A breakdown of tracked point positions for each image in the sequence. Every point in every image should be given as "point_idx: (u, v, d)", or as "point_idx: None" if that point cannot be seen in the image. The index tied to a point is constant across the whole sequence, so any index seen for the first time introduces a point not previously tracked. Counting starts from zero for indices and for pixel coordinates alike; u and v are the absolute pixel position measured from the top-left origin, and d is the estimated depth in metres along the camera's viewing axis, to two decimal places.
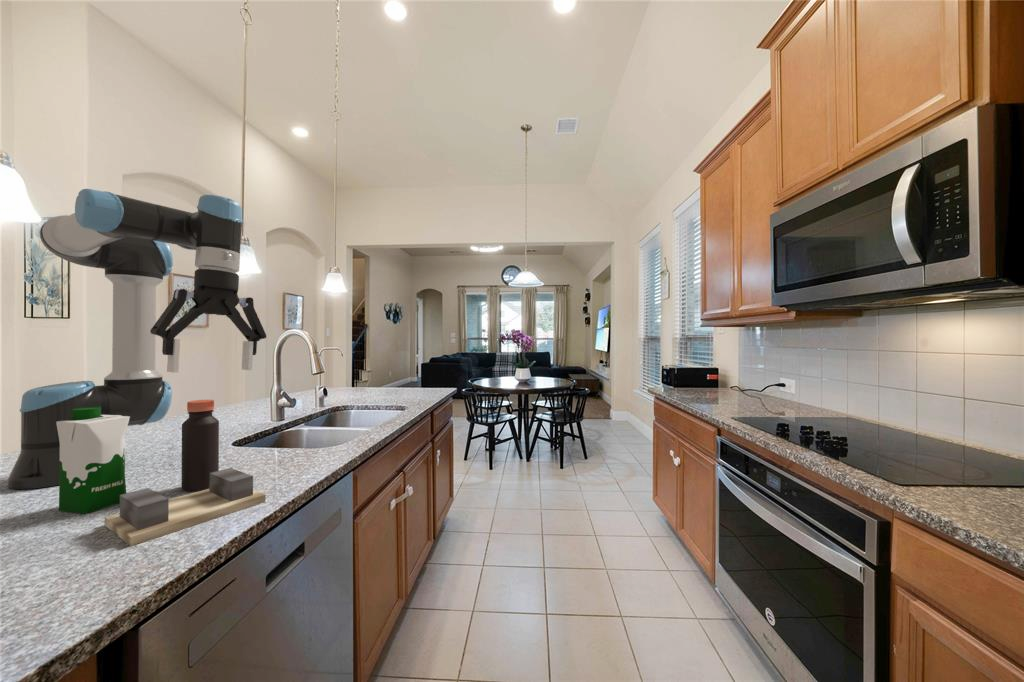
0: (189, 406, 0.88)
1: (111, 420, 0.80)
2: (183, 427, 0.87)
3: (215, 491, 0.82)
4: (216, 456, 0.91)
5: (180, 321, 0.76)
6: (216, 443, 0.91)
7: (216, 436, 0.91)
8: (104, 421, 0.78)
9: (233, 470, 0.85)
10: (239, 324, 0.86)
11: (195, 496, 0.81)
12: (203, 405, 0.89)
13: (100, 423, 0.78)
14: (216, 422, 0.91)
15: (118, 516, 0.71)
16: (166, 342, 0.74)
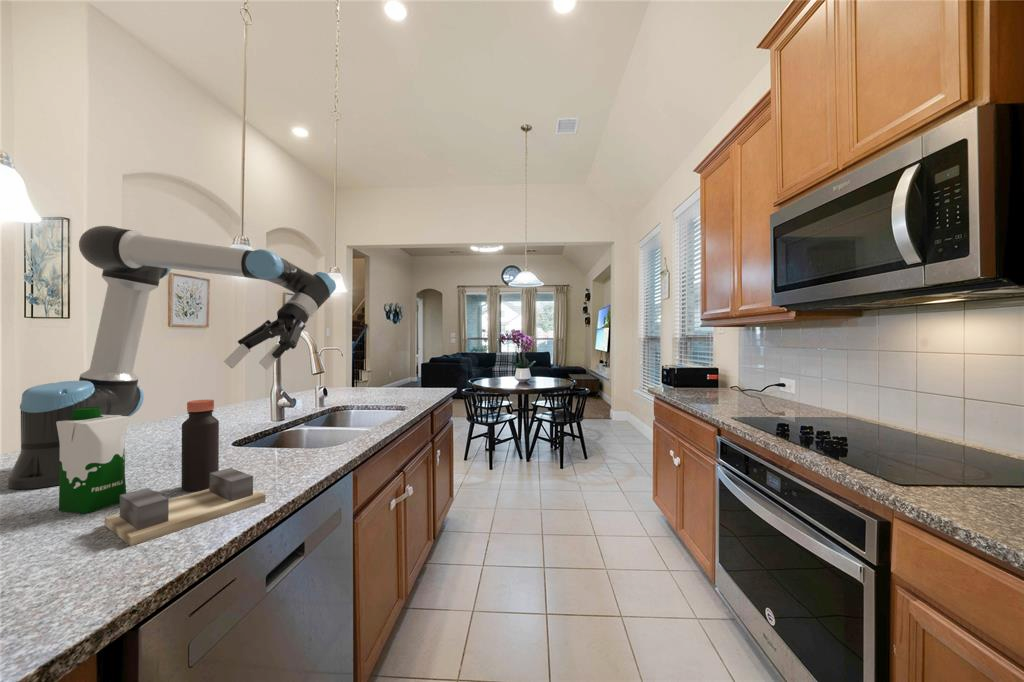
0: (189, 406, 0.88)
1: (111, 420, 0.80)
2: (183, 427, 0.87)
3: (215, 491, 0.82)
4: (216, 456, 0.91)
5: None
6: (216, 443, 0.91)
7: (216, 436, 0.91)
8: (104, 421, 0.78)
9: (233, 470, 0.85)
10: (263, 339, 1.09)
11: (195, 496, 0.81)
12: (202, 405, 0.89)
13: (99, 423, 0.78)
14: (216, 422, 0.91)
15: (118, 516, 0.71)
16: (284, 351, 1.01)
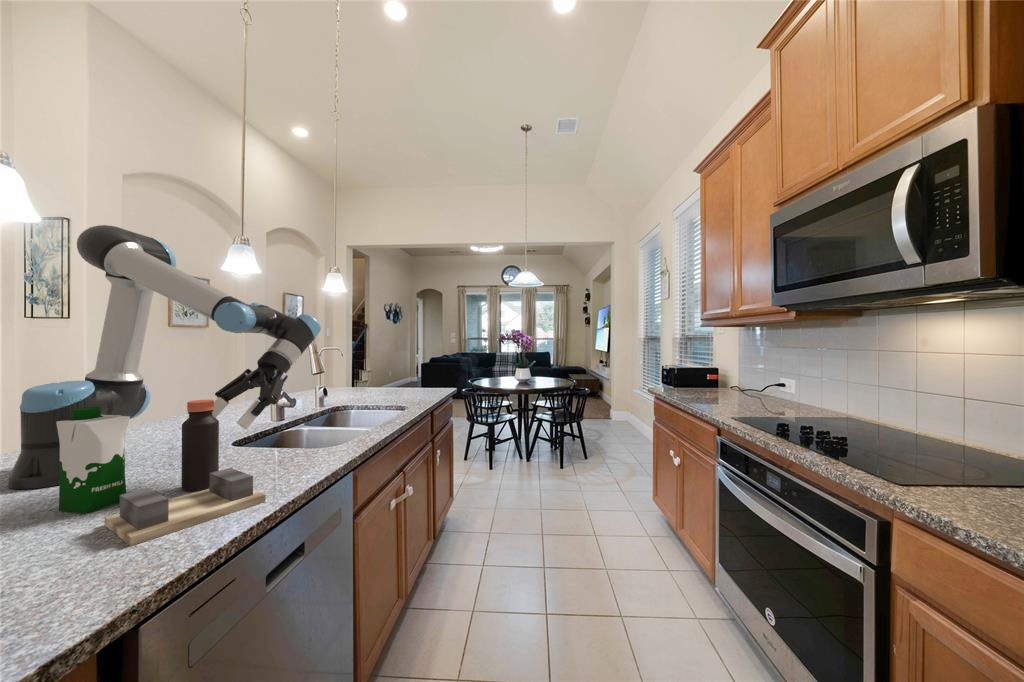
0: (189, 406, 0.88)
1: (111, 420, 0.80)
2: (183, 427, 0.87)
3: (215, 491, 0.82)
4: (216, 456, 0.91)
5: None
6: (216, 443, 0.91)
7: (216, 436, 0.91)
8: (104, 421, 0.78)
9: (233, 470, 0.85)
10: (242, 391, 1.03)
11: (195, 496, 0.81)
12: (203, 405, 0.89)
13: (100, 423, 0.78)
14: (216, 422, 0.91)
15: (118, 516, 0.71)
16: (264, 407, 0.95)
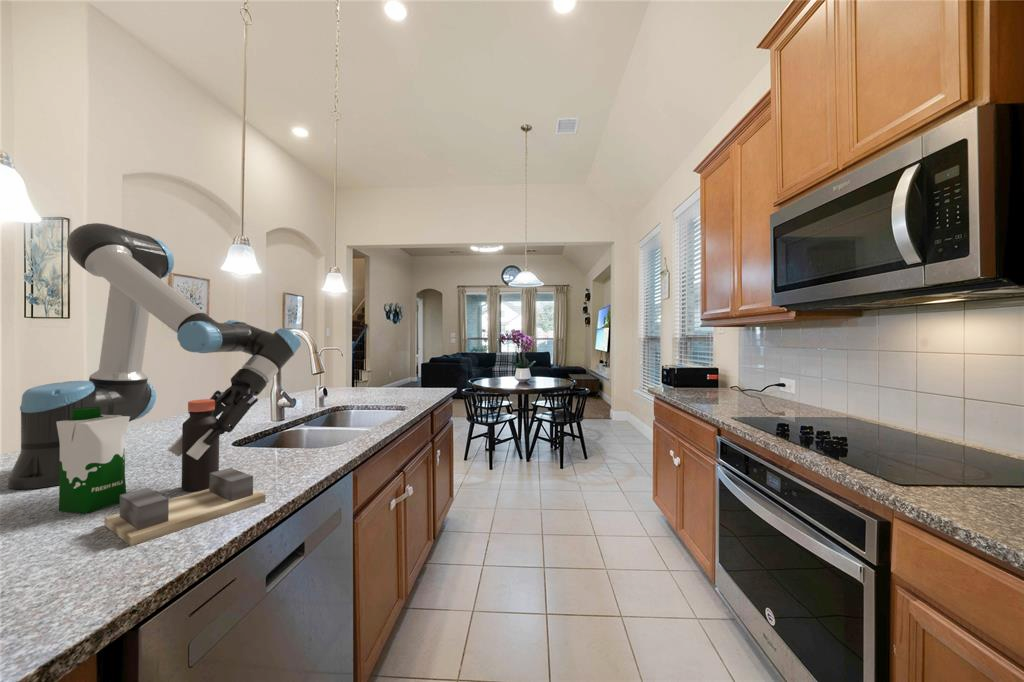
0: (190, 405, 0.88)
1: (111, 420, 0.80)
2: (184, 427, 0.87)
3: (215, 491, 0.82)
4: (216, 456, 0.91)
5: None
6: (216, 443, 0.91)
7: None
8: (104, 421, 0.78)
9: (233, 470, 0.85)
10: (216, 414, 0.96)
11: (195, 496, 0.81)
12: (203, 405, 0.89)
13: (100, 423, 0.78)
14: None
15: (118, 516, 0.71)
16: (218, 436, 0.89)
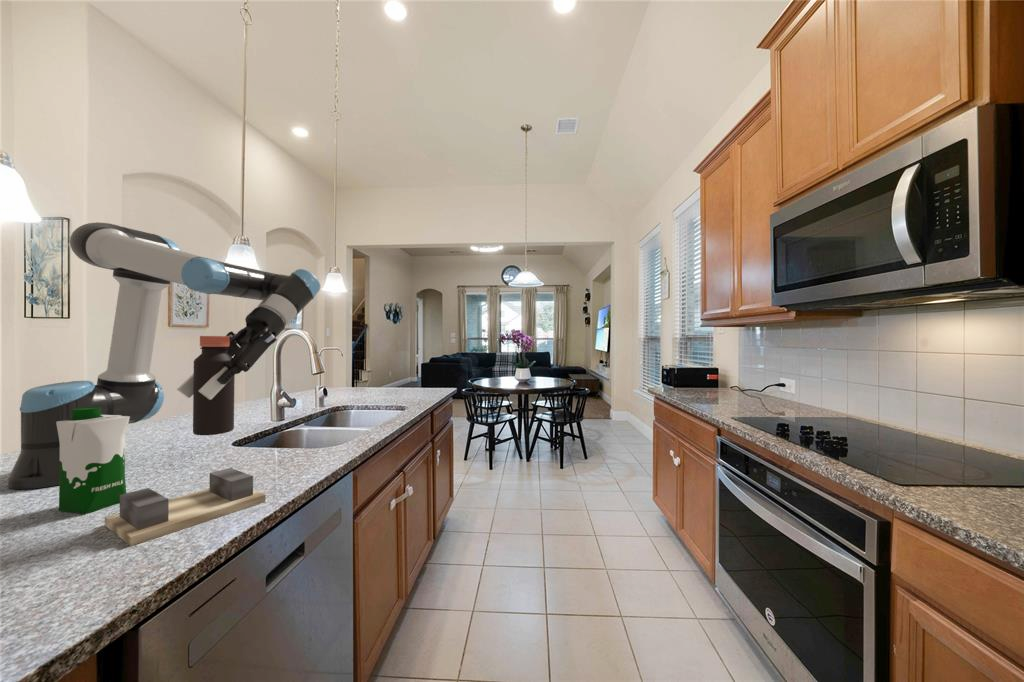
0: (202, 339, 0.78)
1: (111, 420, 0.80)
2: (195, 363, 0.77)
3: (215, 491, 0.82)
4: (232, 398, 0.81)
5: None
6: (232, 384, 0.81)
7: None
8: (104, 421, 0.78)
9: (233, 470, 0.85)
10: (230, 355, 0.86)
11: (195, 496, 0.81)
12: (217, 340, 0.79)
13: (99, 423, 0.78)
14: None
15: (118, 516, 0.71)
16: (233, 375, 0.80)
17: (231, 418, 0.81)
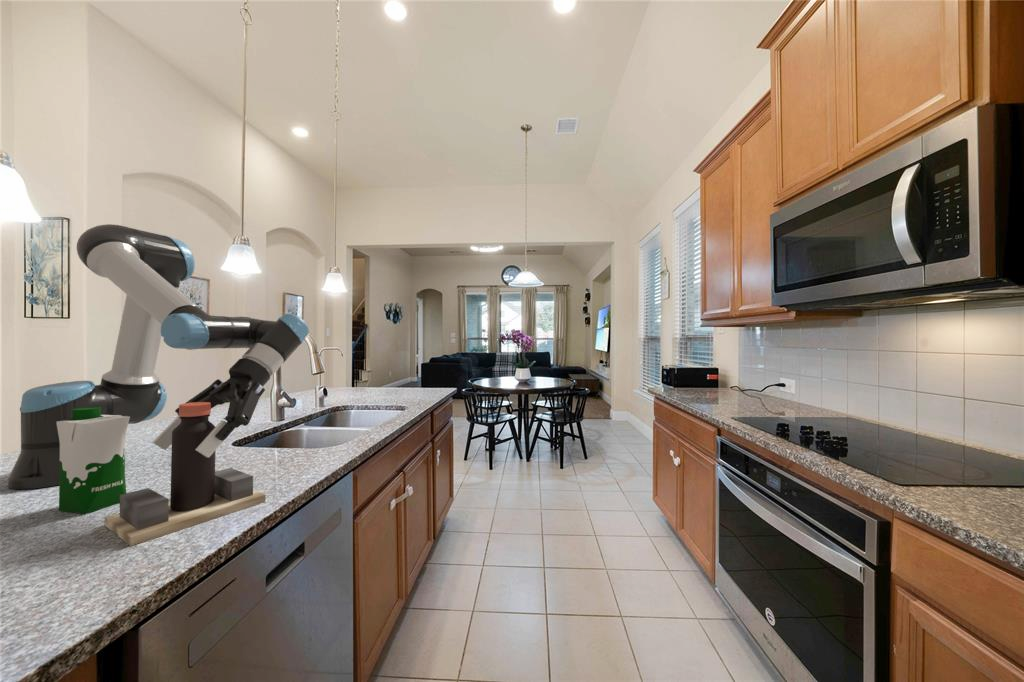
0: (181, 409, 0.75)
1: (111, 420, 0.80)
2: (174, 435, 0.74)
3: (215, 491, 0.82)
4: (212, 468, 0.77)
5: None
6: (213, 453, 0.77)
7: None
8: (104, 421, 0.78)
9: (233, 470, 0.85)
10: None
11: None
12: (198, 409, 0.75)
13: (100, 423, 0.78)
14: None
15: (118, 516, 0.71)
16: (232, 429, 0.76)
17: (211, 489, 0.77)
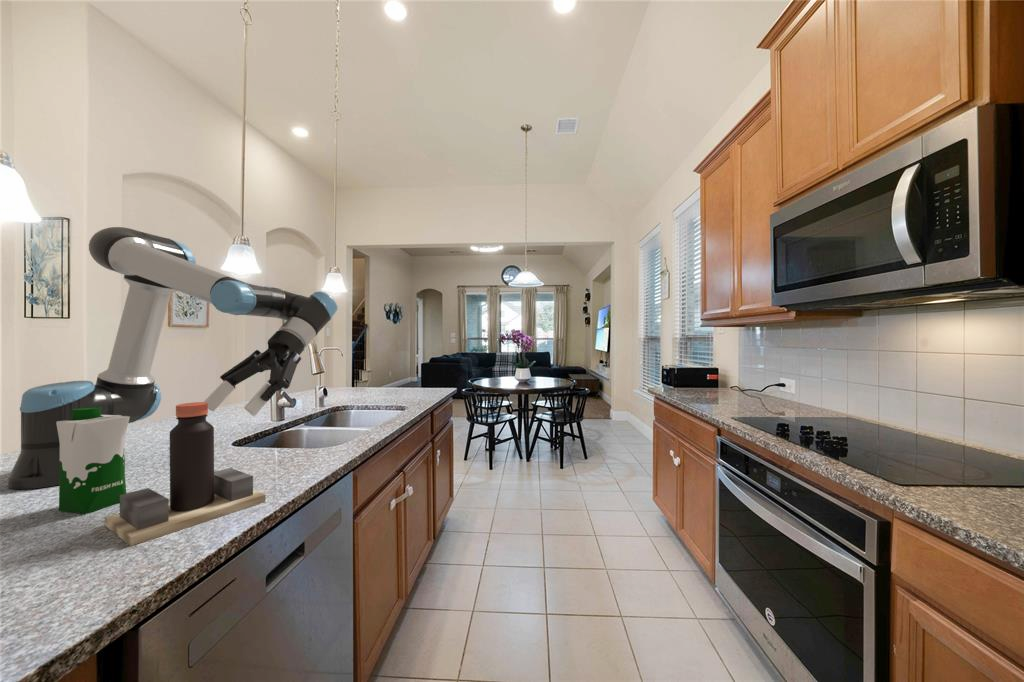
0: (178, 410, 0.74)
1: (111, 420, 0.80)
2: (171, 435, 0.74)
3: (215, 491, 0.82)
4: (211, 468, 0.77)
5: None
6: (211, 453, 0.77)
7: (211, 445, 0.77)
8: (104, 421, 0.78)
9: (233, 470, 0.85)
10: (250, 374, 0.91)
11: None
12: (195, 409, 0.75)
13: (99, 423, 0.78)
14: (211, 429, 0.77)
15: (118, 516, 0.71)
16: (274, 392, 0.84)
17: (211, 489, 0.77)
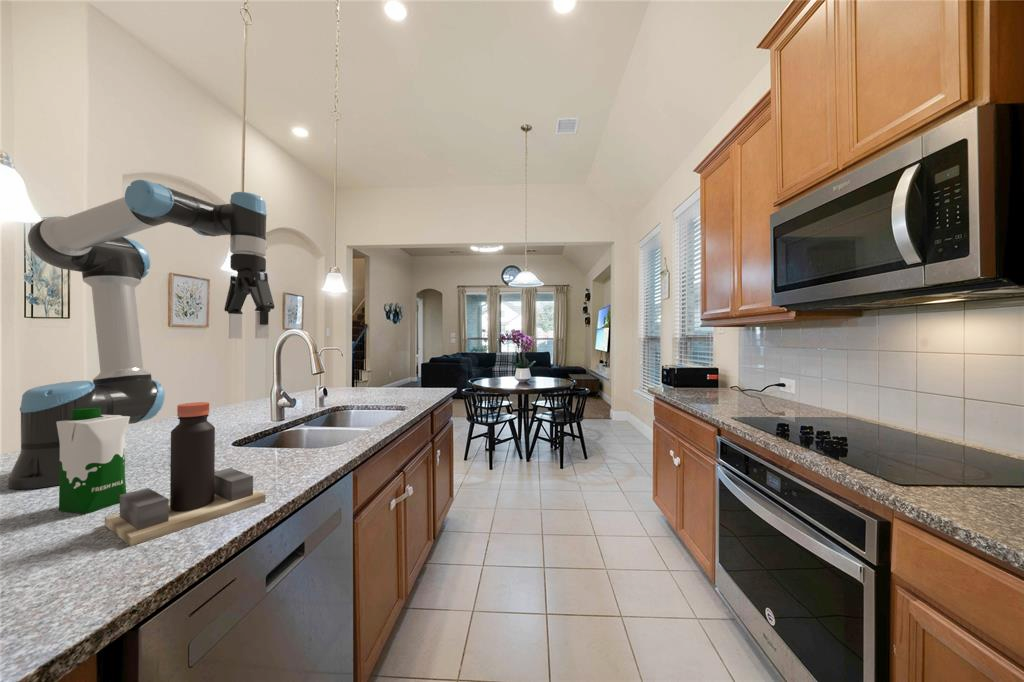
0: (180, 410, 0.74)
1: (111, 420, 0.80)
2: (173, 435, 0.74)
3: (215, 491, 0.82)
4: (212, 469, 0.77)
5: None
6: (212, 453, 0.77)
7: (212, 445, 0.77)
8: (104, 421, 0.78)
9: (233, 470, 0.85)
10: (243, 299, 1.02)
11: None
12: (196, 409, 0.75)
13: (100, 423, 0.78)
14: (212, 429, 0.78)
15: (118, 516, 0.71)
16: (267, 314, 0.95)
17: (211, 489, 0.77)
